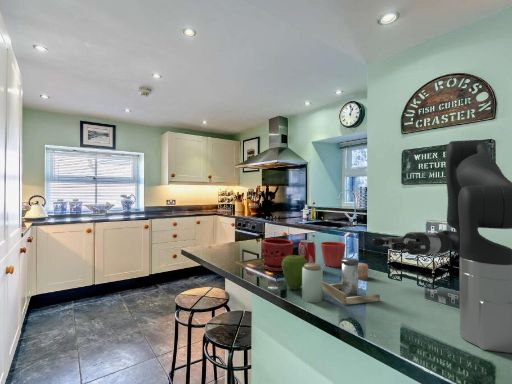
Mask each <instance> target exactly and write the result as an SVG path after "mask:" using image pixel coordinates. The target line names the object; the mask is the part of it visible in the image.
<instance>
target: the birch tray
mask: <svg viewBox="0 0 512 384" xmlns="http://www.w3.org/2000/svg"><path fill="white" fill-rule="evenodd" d="M339 289H340V290H339ZM323 292H324V293H325V294H326V295H327V296H330V297H331V298H332V299H333V300H335V301H337V302H339V303H341V304H342V305H343V306H347V305H348V306H349V305H355V304H363V303H372V302H380V301H381V295H380V293H375V294H374V293H373V294H367V295H358V296H355V297H346V294H345V293H343V292H342V282H339V283H331V284H330V283H327V282H325V281H324V280H323V285H322V293H323Z"/></svg>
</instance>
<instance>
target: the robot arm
mask: <svg viewBox="0 0 512 384" xmlns="http://www.w3.org/2000/svg"><path fill="white" fill-rule="evenodd" d="M445 176H446V177H445V178H446V193H447V208H446V209H447V210H446V211H447V212H446V223H447V225H448V226H450V227H451V228H452V229H455V231H454V230H442V231H439V232H427V231H417V232H415V231H413V232H411V231H410V232H407V233H405V234H404V235H403V236H398V237H393V236H389V237H386V236H385V237H383V236H380V237H378V238H373V239H372V245H373V246H375V247H377V246H378V247H379V246H381V247H388V248H391V249H392V250H393V251H405V252H406V253H407V254H409V255H411V256H421V255H422V256H423V255H433V254H445V253H448V252H449V251H451V252H454V253H456V254H459V335H460V337H462V338H463V340H465V341H466V342H469V343H470V344H473V345H475V346H477V347H479V348H480V349H481V350H484V351H492V352H500V353H509V354H512V247H509V246H507V245H504V244H500V243H498V242H494V241H493V240H490V239H487V238H486V237H485V236H483V235H481V234H480V232H479V228H482V229H494V230H495V229H499V230H510V229H511V230H512V181H510V180H509V179H508V177H506V176H505V175H504V174H503V172H502V170H501V169H500V167H499V165H498V164H497V163H496V162H495V161H494V159H493V158H492V156H491V153H490V151H489V148H488V145H487V143H486V142H485V141H483V140H480V139H473V140H472V139H470V140H469V139H468V140H452V141H449V143H447V146H446V150H445Z"/></svg>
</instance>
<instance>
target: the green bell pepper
mask: <svg viewBox="0 0 512 384" xmlns="http://www.w3.org/2000/svg"><path fill="white" fill-rule="evenodd" d="M306 263H307V260H306V259H305V258H303V257H302V256H298V255H296V254H294V255H293V254H292V255H289V256H286V257H285V258H284V259H283V261H282V270H283V272H282V274H283V277H284V280H285V283H286V284H287V286H288V287H289V289H290V290H292V289H293V291H298V290H299V289H300V288H302V267H304V264H306Z"/></svg>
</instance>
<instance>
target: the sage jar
mask: <svg viewBox="0 0 512 384" xmlns="http://www.w3.org/2000/svg"><path fill="white" fill-rule="evenodd" d="M321 266H322V265H321V264H319V263H316V262H315V263H306V264H304V267H302V286H301V299H302V301H304V300H305V301H304V302H307V301H308V302H307V303H312V302H313V304H314V303H315V304H316V303H320V302H322V301H323V291H322V285H323V281H324V278H323V277H324V274H323V268H322V267H321Z"/></svg>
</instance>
